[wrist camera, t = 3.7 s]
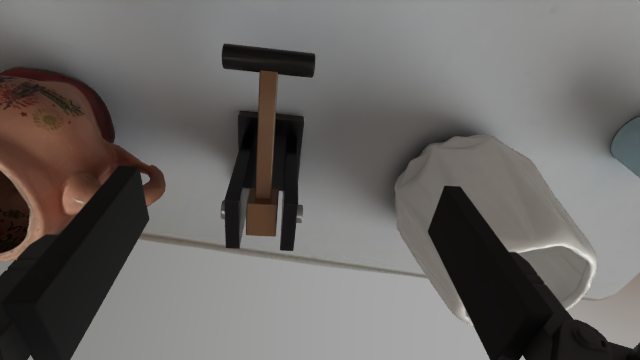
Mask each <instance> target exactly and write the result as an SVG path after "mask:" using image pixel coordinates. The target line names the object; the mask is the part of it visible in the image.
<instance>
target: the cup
mask: <svg viewBox="0 0 640 360" xmlns="http://www.w3.org/2000/svg"><path fill="white" fill-rule="evenodd" d="M611 152H612V154H613V156H614V157H615V158H616V159H617V160H618V161H619V162H621V163H622V164H623V165H624V166H626V167H627V168H628V169H629V170H631V171H632V172H633V173H634V174H636V175H637V176H638V177H639V178H640V116H639V117H637V118H635V119H633V120H631V121H630V122H628V123H627V124H626V125H624V126H623V127H622V128H621V129H620V130H619V131H618V133H617V134H616V135H615V137H614V139H613V141H612V145H611Z"/></svg>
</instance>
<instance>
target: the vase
mask: <svg viewBox="0 0 640 360" xmlns="http://www.w3.org/2000/svg"><path fill="white" fill-rule="evenodd" d="M444 186H460V187H461V188H462V189H463V191H464V192H465V193H466V195H467V196H468V197H469V199H470V200H471V201H472V203H473V204H474V205H475V207H476V208H477V210H478V211H479V212H480V214H481V215H482V216H483V218H484V219H485V220H486V222H487V223H488V224H489V226H490V227H491V228H492V230H493V231H494V233H495V234H496V235H497V237H498V238H499V239H500V241H501V242H502V243H503V245H504V246H505V247H506V249H507V250H508V252H517V253H518V254H519V255H520V256H522V257H523V258H524V259H525V260H527V261H528V262H529V263H530V264H531V266H532V267H533V268H534V270H535V271H536V272H537V275H539V276H540V277H541V279H542V280H543V281H544V282H545V283H544V284H545V285H547V286H548V288H549V289H550V290H551V291H552V293H553V294H554V295H555V296H556V298H557V299H558V300H559V302H560V303H561V304H562V305H563V307H564V308H565V309H566V311H567V310H569V309H570V308H571V307H573V306H574V305H575V304H576V303H577V302H578V301H579V300H580V299H582V298H583V297H584V295H585V294H586V293H587V292H588V290H589V289H590V287H591V284H592V279H593V278H594V276H595V274H596V271H597V256H596V252H595V250H594V248H593V247H592V245H591V244H590V242H589V241H588V239H587V238H586V237H585V235H584V234H583V233H582V231H581V230H580V229H579V227H578V226H577V225H576V223H575V222H574V221H573V219H572V218H571V217H570V215H569V214H568V213H567V211H566V210H565V209H564V207H563V206H562V205H561V203H560V202H559V201H558V199H557V198H556V197H555V195H554V194H553V192H552V191H551V189H550V188H549V186H548V184H547V183H546V181H545V180H544V178H543V177H542V175H541V174H540V172H539V171H538V169H537V168H536V166H535V165H534V163H533V162H532V161H531V160H530V159H529V158H527V157H525V156H524V155H522V154H520V153H518V152H517V151H515V150H513V149H512V148H510V147H508V146H507V145H505V144H504V143H502V142H500V141H499V140H497V139H495V138H494V137H493V136H490V135H474V136H469V137H460V136H454V137H452V138H450V139H449V140H447V141H446V142H444V143H432V144H429V145H427V147H426V148H425V149H424V150H423V152H422V153H421V154H420V156H419V157H417V158H415V159H412V160H411V161H410V162H409V164H408V166H407V169H406V170H405V171H404V172H403V173H402V174H401V175H400V176H399V177H398V179H397V181H396V183H395V187H394V190H395V194H396V196H395V199H394V203H395V208H396V214H397V229H398V231H399V233H400V235H401V237H402V238H403V240H404V242H405V243H406V245H407V247H408V248H409V250H410V251H411V253H412V254H413V256H414V258H415V259H416V261H417V262H418V264H419V265H420V267H421V268H422V270H423V271H424V273H425V274H426V276H427V277H428V279H429V280H430V282H431V284H432V285H433V287H434V288H435V290H436V291H437V292H438V294H439V295H440V297H441V298H442V300H443V301H444V303H445V304H446V305H447V307H448V308H449V309H450V311H451V312H452V313H453V314H454V315H455V316H456V317H457V318H459V319H460V320H462V321H464V322H466V323H467V324H469V325H471V326H474V325H473V323H472V321H471V319H470V317H469V315H468V313H467V311H466V309H465V307H464V305H463V303H462V301H461V299H460V297H459V295H458V293H457V291H456V289H455V287H454V285H453V283H452V281H451V279H450V277H449V275H448V273H447V271H446V269H445V267H444V265H443V262H442V260H441V258H440V256H439V254H438V252H437V250H436V248H435V246H434V244H433V242H432V240H431V238H430V236H429V234H428V229H429V226H430V224H431V221H432V218H433V215H434V213H435V210H436V207H437V204H438V202H439V199H440V196H441V194H442V191H443V188H444Z"/></svg>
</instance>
